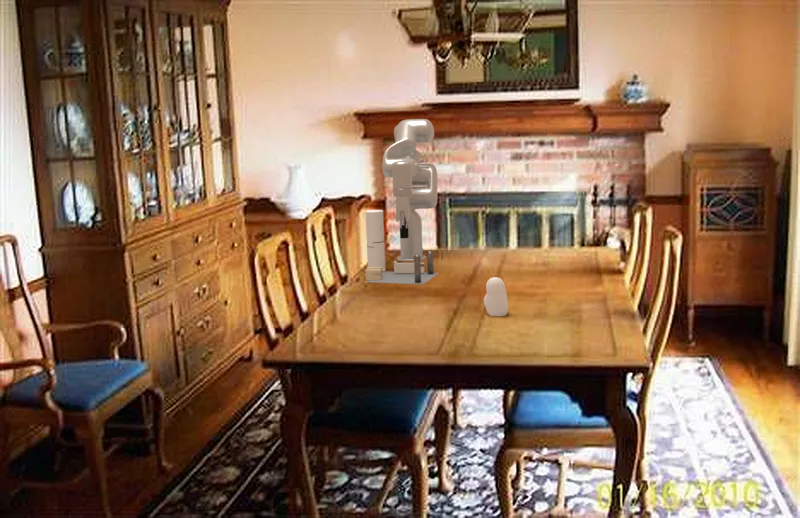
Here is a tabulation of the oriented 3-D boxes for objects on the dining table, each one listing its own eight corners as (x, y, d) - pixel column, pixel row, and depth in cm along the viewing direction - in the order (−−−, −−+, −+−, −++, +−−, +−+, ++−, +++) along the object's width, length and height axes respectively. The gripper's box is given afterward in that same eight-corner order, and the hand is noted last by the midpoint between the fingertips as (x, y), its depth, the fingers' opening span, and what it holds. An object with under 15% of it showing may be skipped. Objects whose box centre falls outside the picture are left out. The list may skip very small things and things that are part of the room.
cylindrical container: (385, 273, 371) (382, 211, 366) (367, 273, 371) (364, 212, 367) (385, 269, 378) (383, 209, 373) (368, 270, 378) (365, 210, 374)
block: (367, 277, 362) (366, 267, 361) (382, 276, 361) (382, 266, 360) (365, 280, 356) (365, 270, 355) (381, 280, 355) (380, 270, 355)
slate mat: (385, 272, 372) (385, 271, 372) (439, 274, 365) (439, 272, 365) (366, 283, 353) (366, 282, 353) (423, 285, 345) (423, 284, 345)
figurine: (501, 309, 305) (500, 274, 302) (512, 314, 298) (511, 278, 295) (482, 312, 302) (481, 276, 300) (492, 317, 295) (491, 281, 293)
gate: (424, 272, 365) (424, 260, 364) (424, 273, 363) (423, 261, 363) (394, 272, 367) (394, 261, 366) (394, 273, 365) (393, 261, 365)
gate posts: (428, 272, 365) (427, 246, 363) (434, 273, 364) (434, 246, 362) (413, 282, 348) (412, 255, 346) (420, 283, 347) (419, 255, 345)
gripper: (395, 189, 370) (396, 234, 374) (391, 195, 356) (393, 241, 360) (413, 189, 370) (415, 234, 373) (410, 194, 355) (412, 241, 359)
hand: (404, 237), depth 366 cm, fingers closed
